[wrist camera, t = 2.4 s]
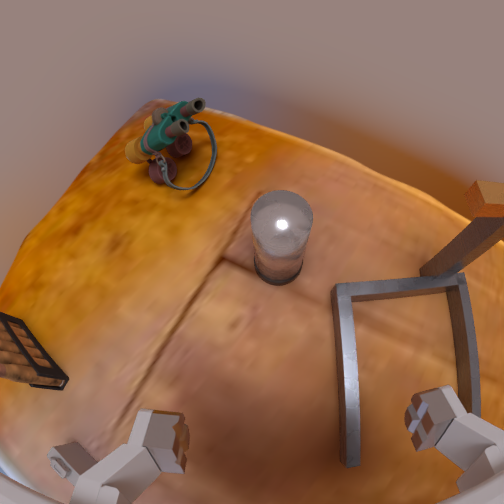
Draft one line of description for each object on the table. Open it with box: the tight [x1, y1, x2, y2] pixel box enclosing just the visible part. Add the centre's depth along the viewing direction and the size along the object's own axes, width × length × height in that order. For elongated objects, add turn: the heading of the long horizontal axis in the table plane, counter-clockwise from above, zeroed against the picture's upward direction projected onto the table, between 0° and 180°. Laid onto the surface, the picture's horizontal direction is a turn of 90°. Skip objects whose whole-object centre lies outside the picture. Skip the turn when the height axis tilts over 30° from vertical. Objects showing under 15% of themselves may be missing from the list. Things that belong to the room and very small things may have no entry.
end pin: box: [251, 190, 313, 286], centre depth 25 cm, size 5×5×9 cm
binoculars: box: [125, 98, 217, 190], centre depth 31 cm, size 9×9×10 cm
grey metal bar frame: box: [331, 180, 504, 468], centre depth 18 cm, size 14×18×16 cm
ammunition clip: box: [0, 312, 69, 390], centre depth 21 cm, size 11×2×12 cm, turn 57°
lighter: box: [47, 442, 97, 486], centre depth 18 cm, size 7×2×8 cm, turn 55°
